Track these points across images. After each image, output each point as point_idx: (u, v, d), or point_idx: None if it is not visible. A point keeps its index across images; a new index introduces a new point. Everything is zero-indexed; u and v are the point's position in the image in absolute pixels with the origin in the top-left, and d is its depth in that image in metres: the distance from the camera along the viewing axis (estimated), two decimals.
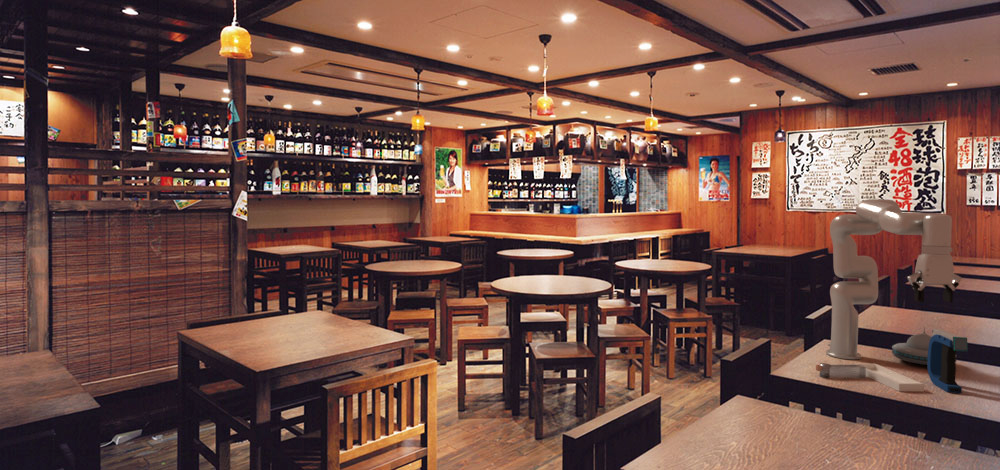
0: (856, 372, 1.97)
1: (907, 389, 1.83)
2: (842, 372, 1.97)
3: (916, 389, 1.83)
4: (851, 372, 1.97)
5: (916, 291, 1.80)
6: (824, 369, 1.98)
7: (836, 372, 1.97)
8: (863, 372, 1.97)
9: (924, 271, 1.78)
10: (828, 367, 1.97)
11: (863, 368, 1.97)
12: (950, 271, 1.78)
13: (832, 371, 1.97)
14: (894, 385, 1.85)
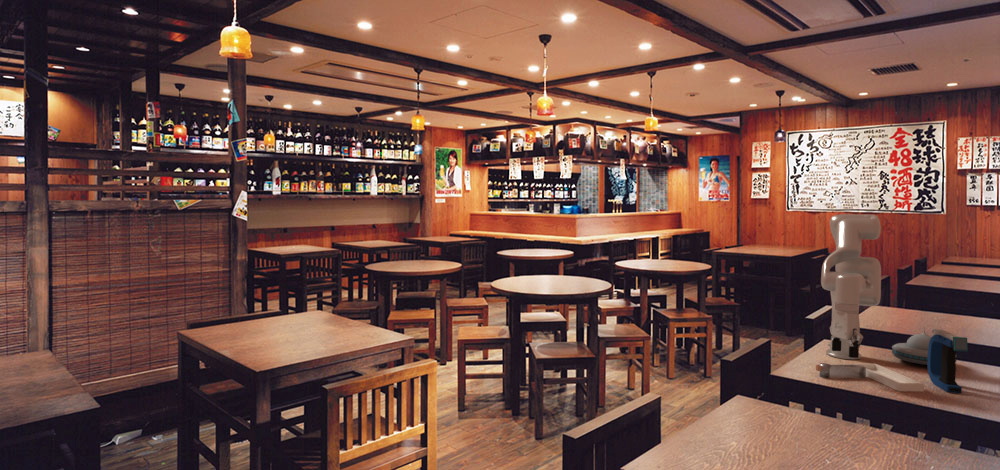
0: (856, 372, 1.97)
1: (907, 389, 1.83)
2: (842, 372, 1.97)
3: (916, 389, 1.83)
4: (851, 372, 1.97)
5: (855, 348, 1.92)
6: (824, 369, 1.98)
7: (836, 372, 1.97)
8: (863, 372, 1.97)
9: (859, 328, 1.93)
10: (828, 367, 1.97)
11: (863, 368, 1.97)
12: None
13: (832, 371, 1.97)
14: (894, 385, 1.85)
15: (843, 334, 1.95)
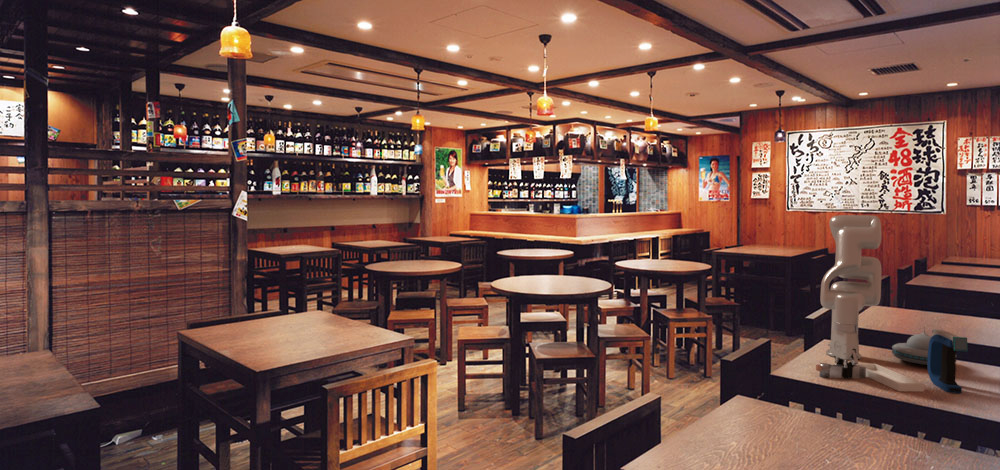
0: (856, 372, 1.97)
1: (907, 389, 1.83)
2: (842, 372, 1.97)
3: (916, 389, 1.83)
4: None
5: (849, 369, 1.96)
6: (824, 369, 1.98)
7: (836, 372, 1.97)
8: (863, 372, 1.97)
9: (858, 348, 1.94)
10: (828, 367, 1.97)
11: (863, 368, 1.97)
12: None
13: (832, 371, 1.97)
14: (894, 385, 1.85)
15: (842, 354, 1.96)
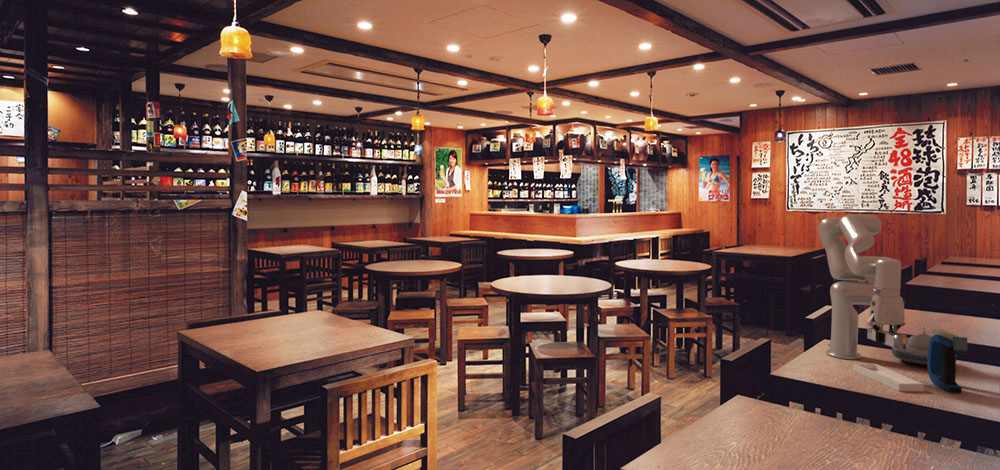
0: None
1: (907, 389, 1.83)
2: None
3: (916, 389, 1.83)
4: None
5: None
6: None
7: None
8: None
9: None
10: None
11: None
12: None
13: None
14: (894, 385, 1.85)
15: (900, 319, 1.93)
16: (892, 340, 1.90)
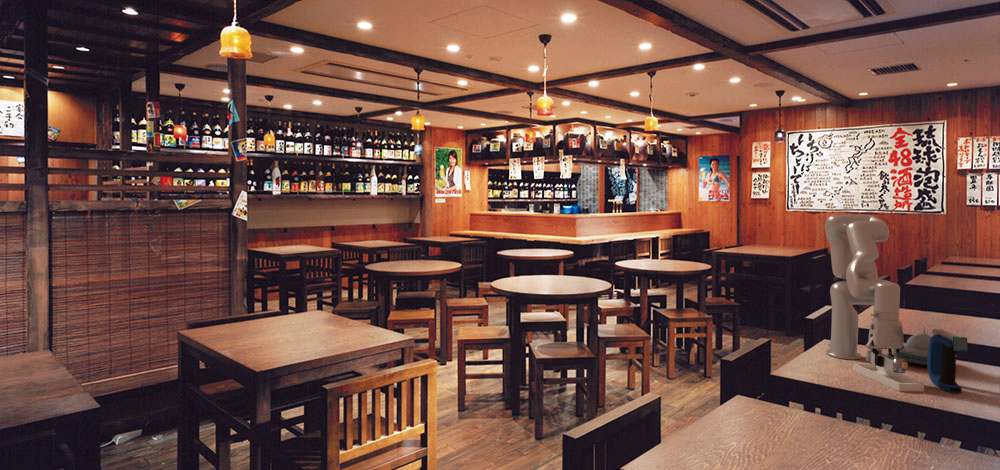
0: None
1: (907, 389, 1.83)
2: None
3: (916, 389, 1.83)
4: None
5: None
6: None
7: None
8: None
9: None
10: None
11: None
12: None
13: None
14: (894, 385, 1.85)
15: (899, 343, 1.93)
16: (891, 364, 1.90)
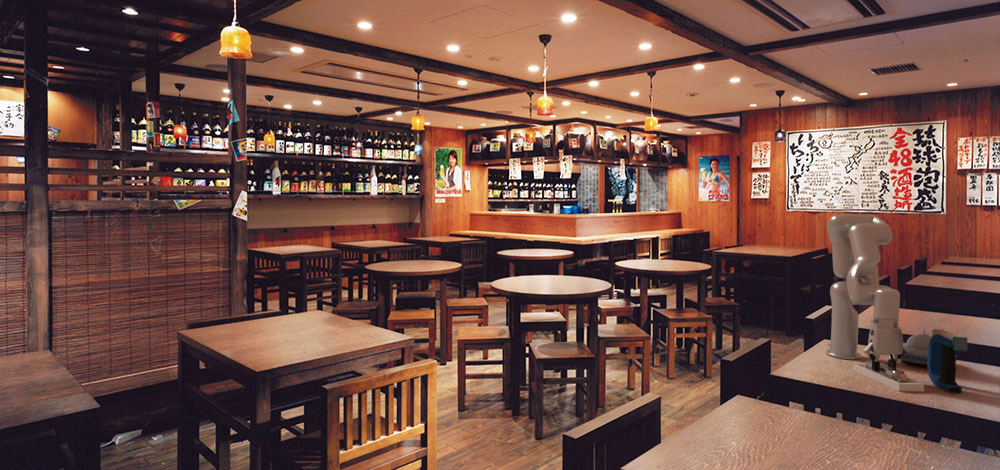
0: None
1: (907, 389, 1.83)
2: None
3: (916, 389, 1.83)
4: None
5: None
6: None
7: None
8: None
9: None
10: None
11: None
12: None
13: None
14: (894, 385, 1.85)
15: (898, 349, 1.93)
16: (890, 376, 1.91)
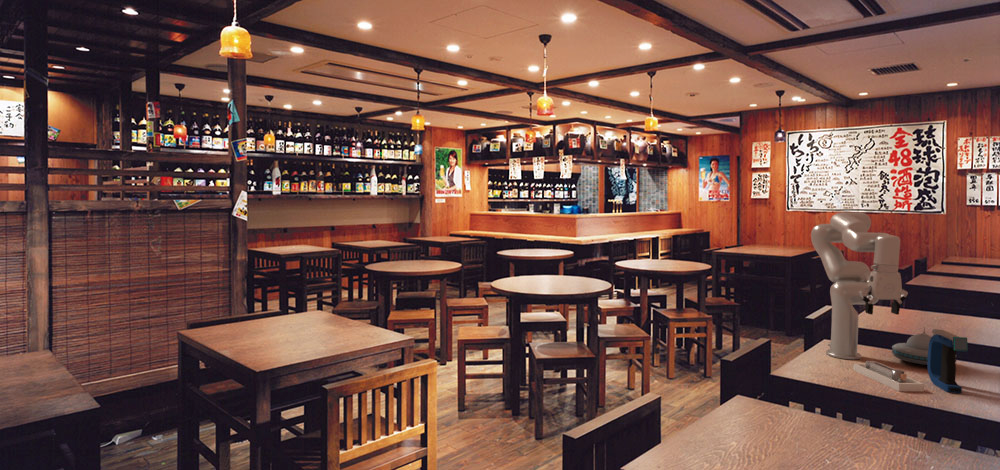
0: None
1: (907, 389, 1.83)
2: None
3: (916, 389, 1.83)
4: None
5: None
6: None
7: None
8: None
9: None
10: None
11: None
12: None
13: None
14: (894, 385, 1.85)
15: (897, 294, 1.97)
16: (890, 376, 1.91)
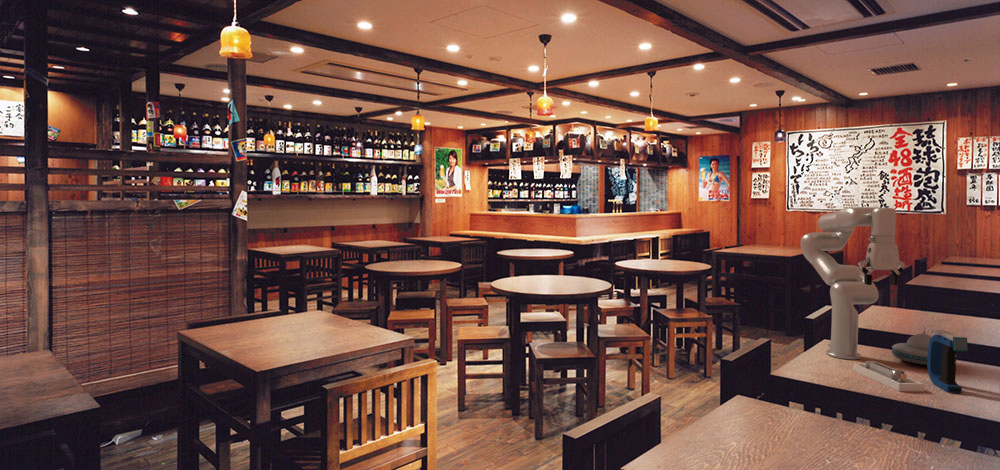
0: None
1: (907, 389, 1.83)
2: None
3: (916, 389, 1.83)
4: None
5: None
6: None
7: None
8: None
9: None
10: None
11: None
12: None
13: None
14: (894, 385, 1.85)
15: (894, 265, 2.02)
16: (890, 376, 1.91)
